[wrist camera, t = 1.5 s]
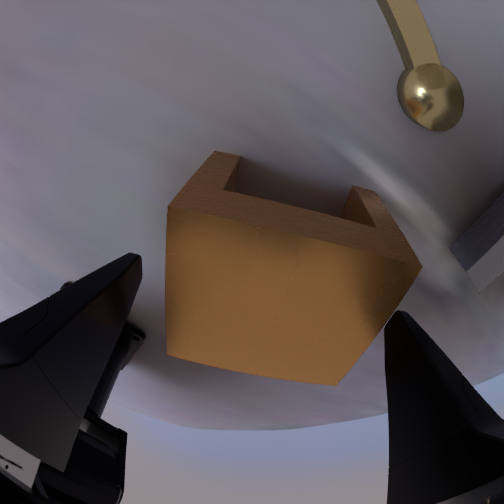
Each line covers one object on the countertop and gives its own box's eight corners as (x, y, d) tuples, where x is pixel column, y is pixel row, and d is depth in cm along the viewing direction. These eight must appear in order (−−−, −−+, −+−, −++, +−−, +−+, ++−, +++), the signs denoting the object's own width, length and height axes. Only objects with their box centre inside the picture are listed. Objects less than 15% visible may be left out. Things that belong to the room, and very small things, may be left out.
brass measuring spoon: (456, 120, 8) (469, 125, 8) (405, 132, 9) (416, 137, 8) (403, -28, 5) (412, -34, 4) (344, -23, 6) (350, -31, 5)
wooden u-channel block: (326, 299, 14) (335, 385, 10) (198, 271, 14) (167, 355, 10) (374, 191, 11) (422, 266, 6) (214, 150, 10) (168, 206, 6)
